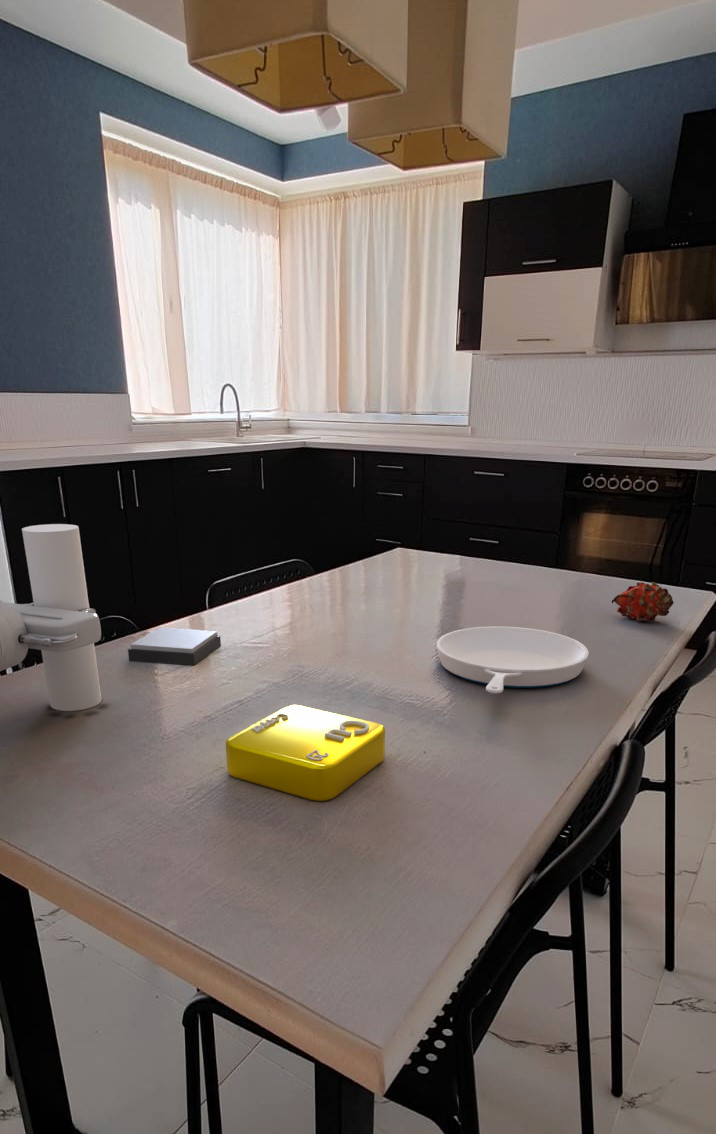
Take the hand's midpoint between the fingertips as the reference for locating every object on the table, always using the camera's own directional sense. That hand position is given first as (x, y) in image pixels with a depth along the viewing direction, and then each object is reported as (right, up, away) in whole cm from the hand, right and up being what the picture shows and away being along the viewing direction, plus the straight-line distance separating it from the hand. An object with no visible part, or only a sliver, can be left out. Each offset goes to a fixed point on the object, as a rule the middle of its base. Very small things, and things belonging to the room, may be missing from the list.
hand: (66, 610), depth 109 cm
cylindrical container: (0, -13, +5) cm, 14 cm away
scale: (+9, -3, +27) cm, 29 cm away
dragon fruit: (+99, +6, +51) cm, 112 cm away
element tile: (+35, -21, -15) cm, 44 cm away
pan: (+65, -9, +16) cm, 67 cm away
